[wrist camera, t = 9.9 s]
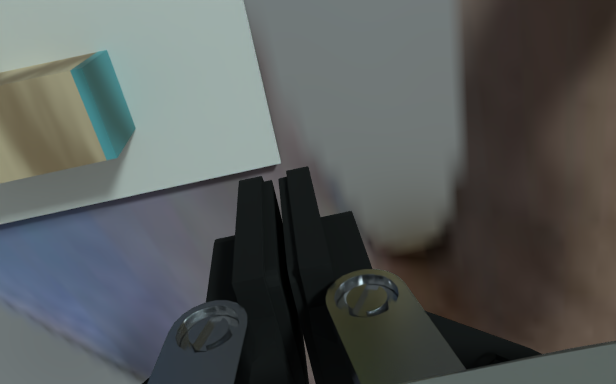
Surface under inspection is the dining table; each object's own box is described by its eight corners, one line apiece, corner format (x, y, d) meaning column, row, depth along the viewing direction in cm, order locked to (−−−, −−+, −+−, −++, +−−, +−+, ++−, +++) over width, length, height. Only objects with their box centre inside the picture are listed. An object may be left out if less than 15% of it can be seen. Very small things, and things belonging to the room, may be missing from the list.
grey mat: (228, -64, 28) (228, -64, 27) (280, 159, 34) (280, 163, 34) (-156, 17, 28) (-167, 18, 27) (-32, 226, 34) (-38, 232, 33)
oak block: (81, 68, 25) (-116, 110, 25) (117, 158, 27) (-63, 197, 27) (106, 49, 29) (-60, 85, 29) (135, 128, 31) (-19, 161, 31)
